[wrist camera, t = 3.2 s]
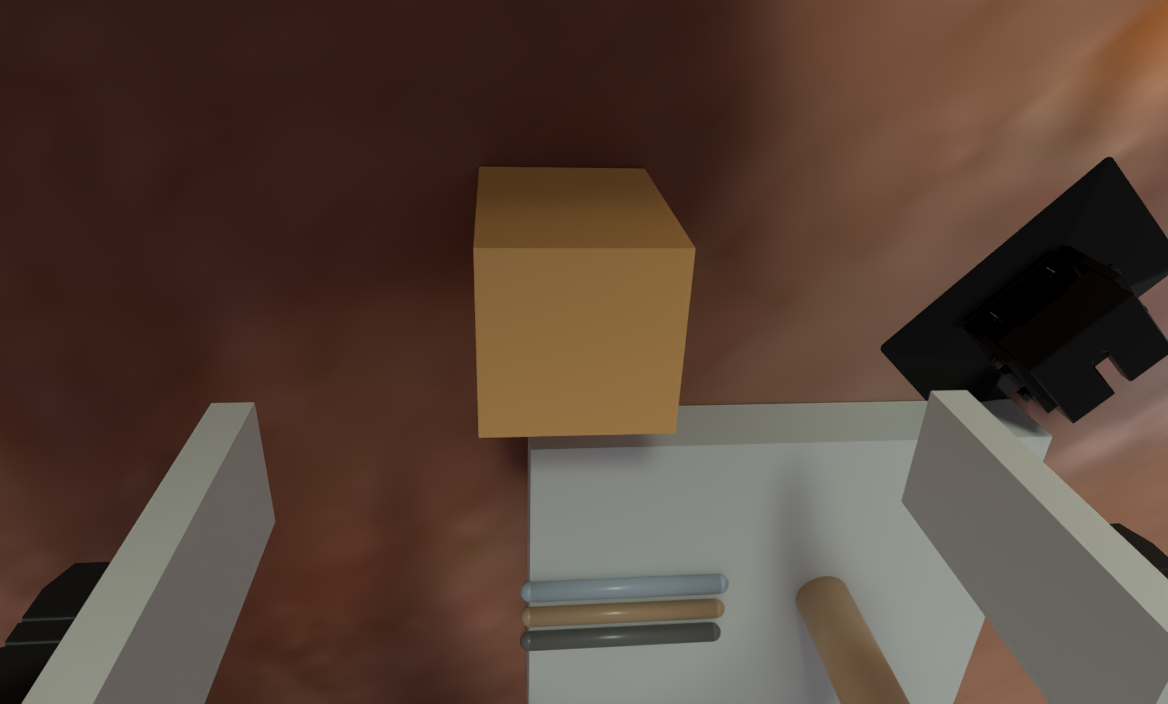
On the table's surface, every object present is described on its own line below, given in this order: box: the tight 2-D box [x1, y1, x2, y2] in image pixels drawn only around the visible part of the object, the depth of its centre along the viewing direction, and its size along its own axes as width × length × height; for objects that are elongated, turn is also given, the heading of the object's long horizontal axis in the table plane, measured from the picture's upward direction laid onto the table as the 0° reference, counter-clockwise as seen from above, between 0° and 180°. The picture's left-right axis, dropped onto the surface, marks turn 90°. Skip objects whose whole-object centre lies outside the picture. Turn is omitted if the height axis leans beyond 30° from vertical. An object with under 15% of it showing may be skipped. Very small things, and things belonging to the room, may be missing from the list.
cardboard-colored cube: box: [473, 167, 696, 438], centre depth 22 cm, size 5×5×7 cm
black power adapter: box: [881, 157, 1168, 423], centre depth 26 cm, size 12×7×5 cm, turn 135°
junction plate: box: [520, 399, 1052, 704], centre depth 28 cm, size 18×14×8 cm
